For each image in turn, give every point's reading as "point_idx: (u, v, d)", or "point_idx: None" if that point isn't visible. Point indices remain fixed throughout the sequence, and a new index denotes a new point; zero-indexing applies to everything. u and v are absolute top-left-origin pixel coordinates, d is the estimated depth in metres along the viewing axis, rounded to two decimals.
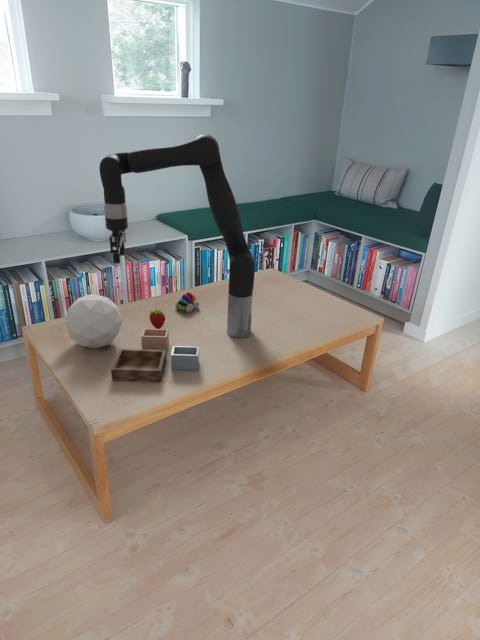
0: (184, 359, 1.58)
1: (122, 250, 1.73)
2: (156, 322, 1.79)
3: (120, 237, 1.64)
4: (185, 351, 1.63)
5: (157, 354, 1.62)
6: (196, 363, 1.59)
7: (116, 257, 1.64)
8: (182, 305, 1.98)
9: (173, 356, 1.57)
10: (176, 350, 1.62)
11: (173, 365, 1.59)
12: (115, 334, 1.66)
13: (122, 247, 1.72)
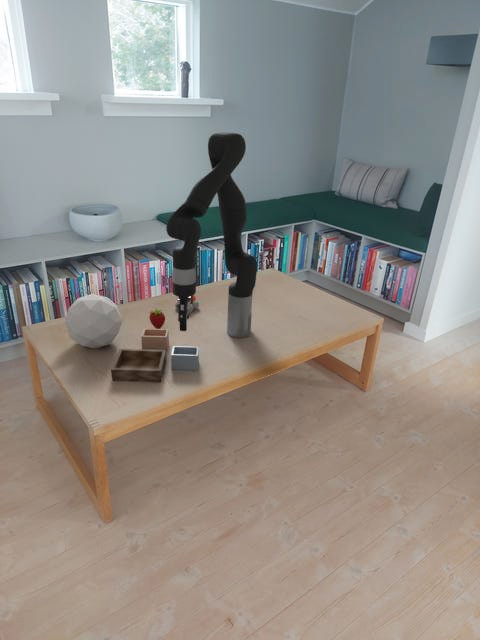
0: (184, 359, 1.58)
1: (186, 314, 1.58)
2: (156, 322, 1.79)
3: (188, 303, 1.49)
4: (185, 351, 1.63)
5: (157, 354, 1.62)
6: (196, 363, 1.59)
7: (183, 325, 1.49)
8: None
9: (173, 356, 1.57)
10: (176, 350, 1.62)
11: (173, 365, 1.59)
12: (115, 334, 1.66)
13: (186, 311, 1.57)
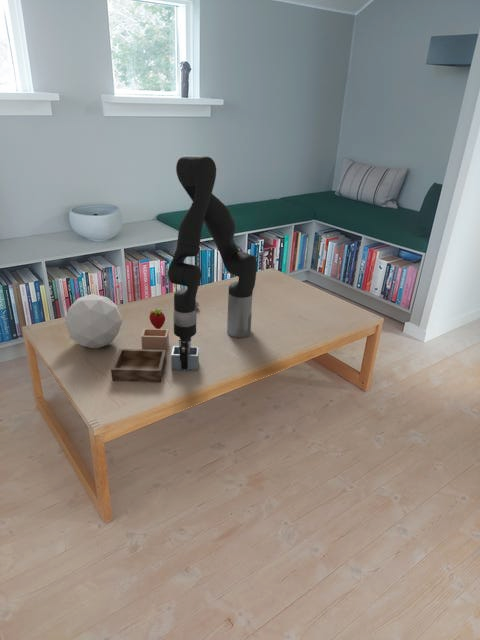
0: None
1: None
2: (156, 322, 1.79)
3: (188, 343, 1.56)
4: None
5: (157, 354, 1.62)
6: (196, 363, 1.59)
7: (184, 364, 1.57)
8: None
9: (173, 356, 1.57)
10: (176, 350, 1.62)
11: (173, 365, 1.59)
12: (115, 334, 1.66)
13: None
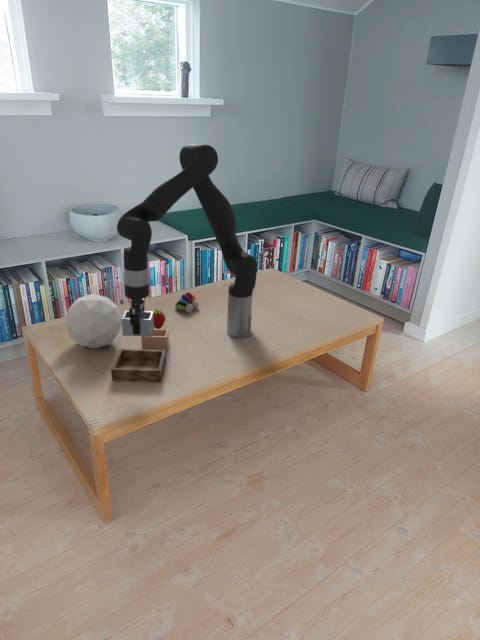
0: None
1: None
2: (156, 322, 1.79)
3: (140, 306, 1.45)
4: None
5: (157, 354, 1.62)
6: (149, 328, 1.47)
7: (136, 328, 1.46)
8: (182, 305, 1.99)
9: (124, 320, 1.46)
10: (129, 315, 1.51)
11: (124, 330, 1.47)
12: (115, 334, 1.66)
13: None
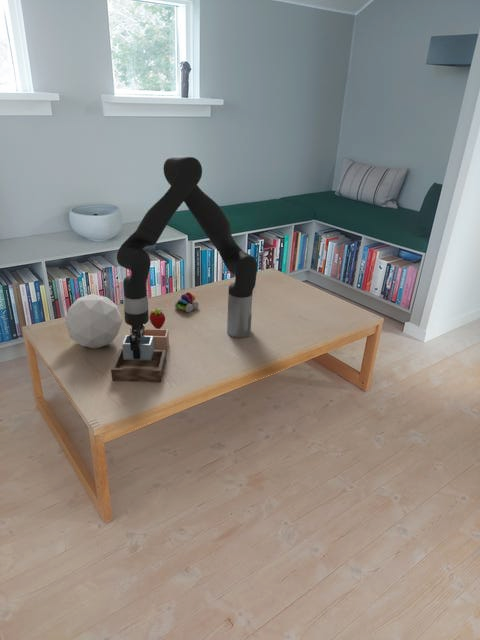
0: None
1: None
2: (156, 322, 1.79)
3: (140, 332, 1.49)
4: None
5: (157, 354, 1.62)
6: (149, 353, 1.52)
7: (136, 353, 1.50)
8: (181, 305, 1.99)
9: (124, 345, 1.50)
10: (129, 339, 1.55)
11: (125, 355, 1.52)
12: (115, 334, 1.66)
13: None
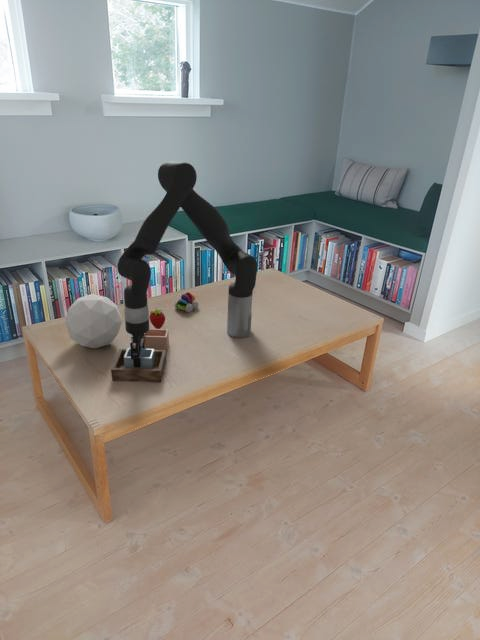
0: None
1: None
2: (156, 322, 1.79)
3: (141, 340, 1.50)
4: None
5: (157, 354, 1.62)
6: (150, 366, 1.54)
7: (137, 362, 1.51)
8: (181, 305, 1.99)
9: (126, 358, 1.53)
10: None
11: None
12: (115, 334, 1.66)
13: None
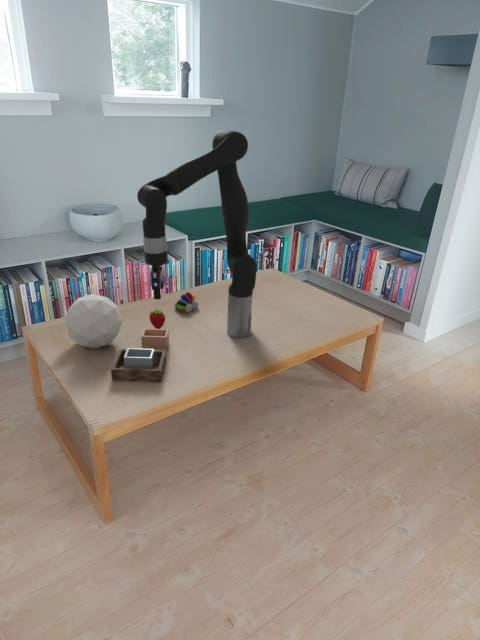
0: (137, 361, 1.53)
1: (160, 283, 1.62)
2: (156, 322, 1.79)
3: (160, 271, 1.54)
4: (140, 353, 1.58)
5: (157, 354, 1.62)
6: (150, 366, 1.54)
7: (157, 293, 1.54)
8: (181, 305, 1.99)
9: (126, 358, 1.53)
10: (131, 352, 1.58)
11: None
12: (115, 334, 1.66)
13: None
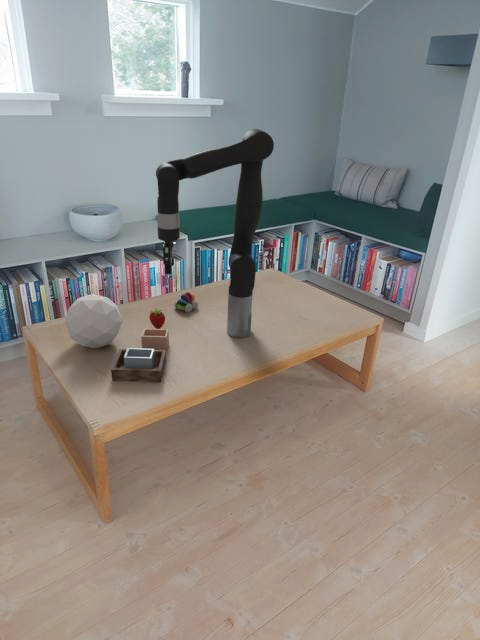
0: (137, 361, 1.53)
1: (171, 260, 1.69)
2: (156, 322, 1.79)
3: (172, 247, 1.60)
4: (140, 353, 1.58)
5: (157, 354, 1.62)
6: (150, 366, 1.54)
7: (168, 268, 1.60)
8: (181, 305, 1.99)
9: (126, 358, 1.53)
10: (131, 352, 1.58)
11: None
12: (115, 334, 1.66)
13: (171, 258, 1.68)
